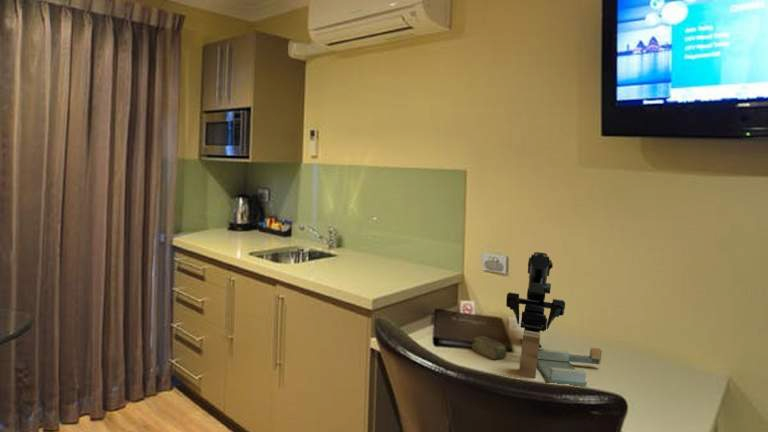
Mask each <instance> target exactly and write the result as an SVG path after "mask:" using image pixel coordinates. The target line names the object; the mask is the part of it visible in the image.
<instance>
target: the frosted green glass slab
mask: <svg viewBox="0 0 768 432" xmlns="http://www.w3.org/2000/svg"><path fill="white" fill-rule="evenodd" d="M537 369H539V371H540V372H541V374H542V375H543V377H544V378H545V380H546V382H547V383H548V384H549V383H557V384H569V385H574V386H573V387H575V386H586V387H587V381H586V377H587V372H586V371H585V370H584V369H577V368H575V366H573V365H572V362H569V361H558V360H547V359H538V360H537Z"/></svg>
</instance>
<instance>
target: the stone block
mask: <svg viewBox="0 0 768 432" xmlns="http://www.w3.org/2000/svg"><path fill="white" fill-rule="evenodd" d="M471 349H472V350H473V351H475V352H476V353H478V354H481V355H483V356H484V357H487V358H489V359H491V360H495V361H498V360H503V359H504V358H506V357H507V347H506V345H505V344H504V343H501V342H499V341H497V340H494V339H492V338H490V337H487V336H484V335H482V336H476V337H474V338H473V342H472V344H471Z"/></svg>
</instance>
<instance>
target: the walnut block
mask: <svg viewBox="0 0 768 432" xmlns="http://www.w3.org/2000/svg"><path fill="white" fill-rule="evenodd" d="M522 339H523V341H522V342H521V350H520V351H521V352H520V361H519V370H518V376H523V377H525V378H531V379H536V375H537V369H538V366H537V360H538V351H539V349H540V347H539V343H540V342H541V340H540V339H541V332H540V333H538V332H532V331H526V330H524V329H523V333H522Z"/></svg>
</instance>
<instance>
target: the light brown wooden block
mask: <svg viewBox="0 0 768 432" xmlns="http://www.w3.org/2000/svg"><path fill="white" fill-rule="evenodd" d="M602 352H603V350H602V349H601V348H597V347H590V349H589V355H579V354H578V355H577V354H570V352H569V351H568V350H555V349H544V348H539V351H538V359H547V360H558V361H569V362H570V363H581V364H592V365H593V364H594V365H601V361H602V359H601V358H602Z"/></svg>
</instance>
